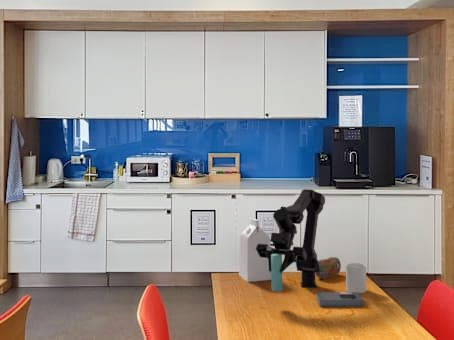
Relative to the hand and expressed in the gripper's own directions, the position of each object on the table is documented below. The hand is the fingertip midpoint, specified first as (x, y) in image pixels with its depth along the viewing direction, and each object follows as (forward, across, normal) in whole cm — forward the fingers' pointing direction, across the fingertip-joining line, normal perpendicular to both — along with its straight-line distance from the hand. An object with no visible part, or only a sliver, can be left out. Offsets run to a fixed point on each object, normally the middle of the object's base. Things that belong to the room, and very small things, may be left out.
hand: (275, 271), depth 214 cm
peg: (+4, 0, +6) cm, 7 cm away
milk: (-17, -26, +37) cm, 48 cm away
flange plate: (-2, +19, +21) cm, 28 cm away
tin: (-26, +3, +46) cm, 54 cm away
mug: (-16, +20, +35) cm, 43 cm away
